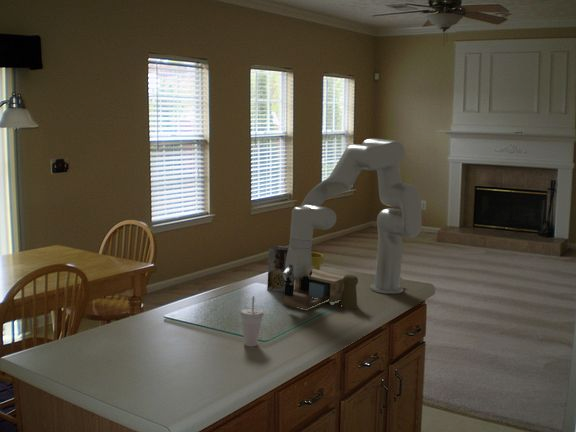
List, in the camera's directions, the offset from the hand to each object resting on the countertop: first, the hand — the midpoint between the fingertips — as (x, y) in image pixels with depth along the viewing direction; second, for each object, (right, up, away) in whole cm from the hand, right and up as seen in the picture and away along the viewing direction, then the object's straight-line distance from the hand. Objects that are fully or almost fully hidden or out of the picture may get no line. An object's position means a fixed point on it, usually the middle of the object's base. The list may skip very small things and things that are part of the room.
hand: (296, 293), depth 223 cm
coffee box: (-6, -1, +22) cm, 22 cm away
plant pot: (+5, +1, +42) cm, 42 cm away
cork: (+18, -5, +6) cm, 20 cm away
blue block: (+8, -3, +13) cm, 16 cm away
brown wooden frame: (+5, -4, +8) cm, 11 cm away
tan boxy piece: (+9, -3, +14) cm, 17 cm away
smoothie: (-14, -10, -38) cm, 41 cm away
